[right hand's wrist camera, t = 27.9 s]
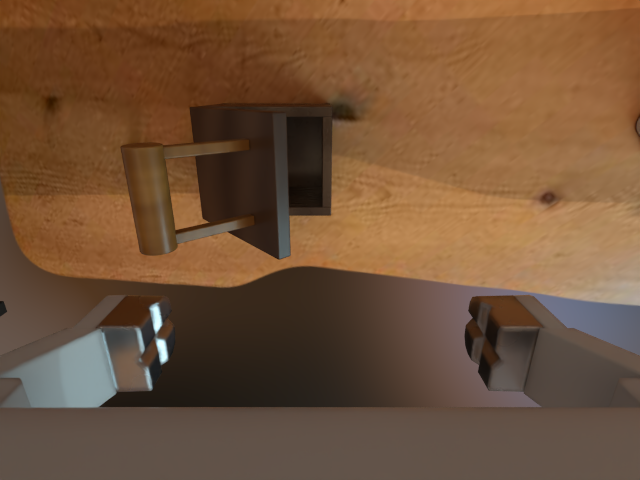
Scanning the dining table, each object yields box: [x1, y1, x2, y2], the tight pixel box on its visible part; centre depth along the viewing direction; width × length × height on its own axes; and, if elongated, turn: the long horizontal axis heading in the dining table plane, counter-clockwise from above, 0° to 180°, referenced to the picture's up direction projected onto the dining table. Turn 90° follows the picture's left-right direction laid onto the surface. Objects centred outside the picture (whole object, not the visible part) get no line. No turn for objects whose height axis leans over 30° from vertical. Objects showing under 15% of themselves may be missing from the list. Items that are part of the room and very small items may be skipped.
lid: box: [121, 107, 290, 259], centre depth 26 cm, size 12×9×9 cm
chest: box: [198, 104, 332, 215], centre depth 37 cm, size 11×9×9 cm
